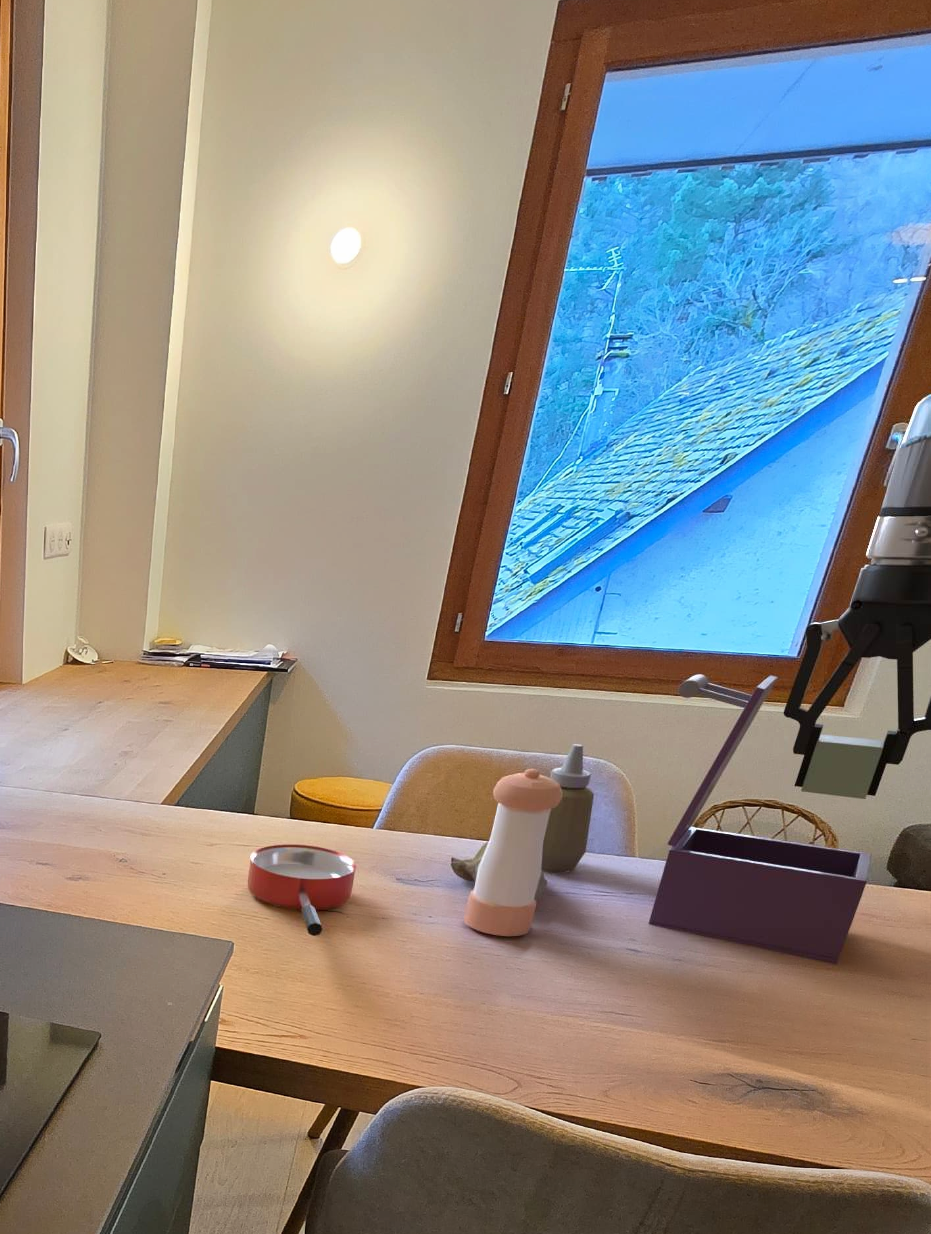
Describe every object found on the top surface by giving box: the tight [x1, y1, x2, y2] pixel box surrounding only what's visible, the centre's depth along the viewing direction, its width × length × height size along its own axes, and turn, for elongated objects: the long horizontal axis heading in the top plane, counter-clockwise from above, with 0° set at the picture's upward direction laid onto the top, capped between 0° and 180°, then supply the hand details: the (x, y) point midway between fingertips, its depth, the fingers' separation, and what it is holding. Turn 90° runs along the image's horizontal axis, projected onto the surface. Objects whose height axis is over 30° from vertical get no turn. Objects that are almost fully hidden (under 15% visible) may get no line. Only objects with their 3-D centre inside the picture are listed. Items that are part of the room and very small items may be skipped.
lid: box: [667, 674, 778, 847], centre depth 124 cm, size 19×14×8 cm
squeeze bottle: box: [541, 743, 595, 874], centre depth 143 cm, size 8×8×18 cm
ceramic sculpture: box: [450, 841, 548, 902], centre depth 135 cm, size 11×9×15 cm
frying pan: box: [247, 844, 357, 937], centre depth 128 cm, size 32×13×6 cm, turn 171°
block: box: [800, 733, 885, 800], centre depth 114 cm, size 6×6×6 cm
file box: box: [647, 826, 873, 966], centre depth 124 cm, size 18×14×10 cm
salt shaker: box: [463, 768, 562, 937], centre depth 123 cm, size 7×7×19 cm
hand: (834, 788), depth 115 cm, fingers closed on block, 5 cm apart
